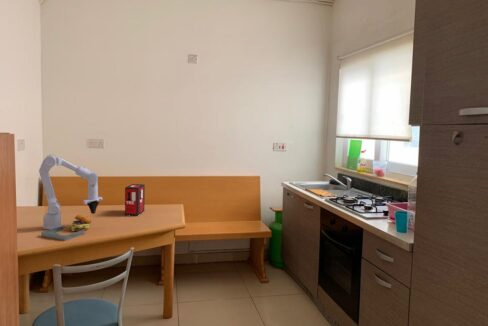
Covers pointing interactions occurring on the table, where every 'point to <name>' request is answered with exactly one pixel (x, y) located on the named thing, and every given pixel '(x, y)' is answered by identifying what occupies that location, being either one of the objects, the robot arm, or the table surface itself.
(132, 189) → the cleaning product box
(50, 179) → the robot arm
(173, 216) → the table surface
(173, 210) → the table surface
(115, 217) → the table surface
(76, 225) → the cheeseburger
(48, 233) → the rack
